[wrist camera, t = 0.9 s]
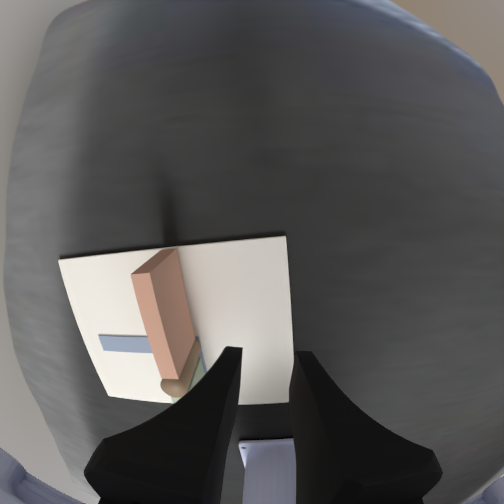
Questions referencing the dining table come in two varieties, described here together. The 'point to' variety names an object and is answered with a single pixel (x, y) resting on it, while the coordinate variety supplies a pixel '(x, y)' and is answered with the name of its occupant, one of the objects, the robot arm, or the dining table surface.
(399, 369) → the dining table surface
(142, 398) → the card
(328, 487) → the robot arm
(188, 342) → the fence panel
